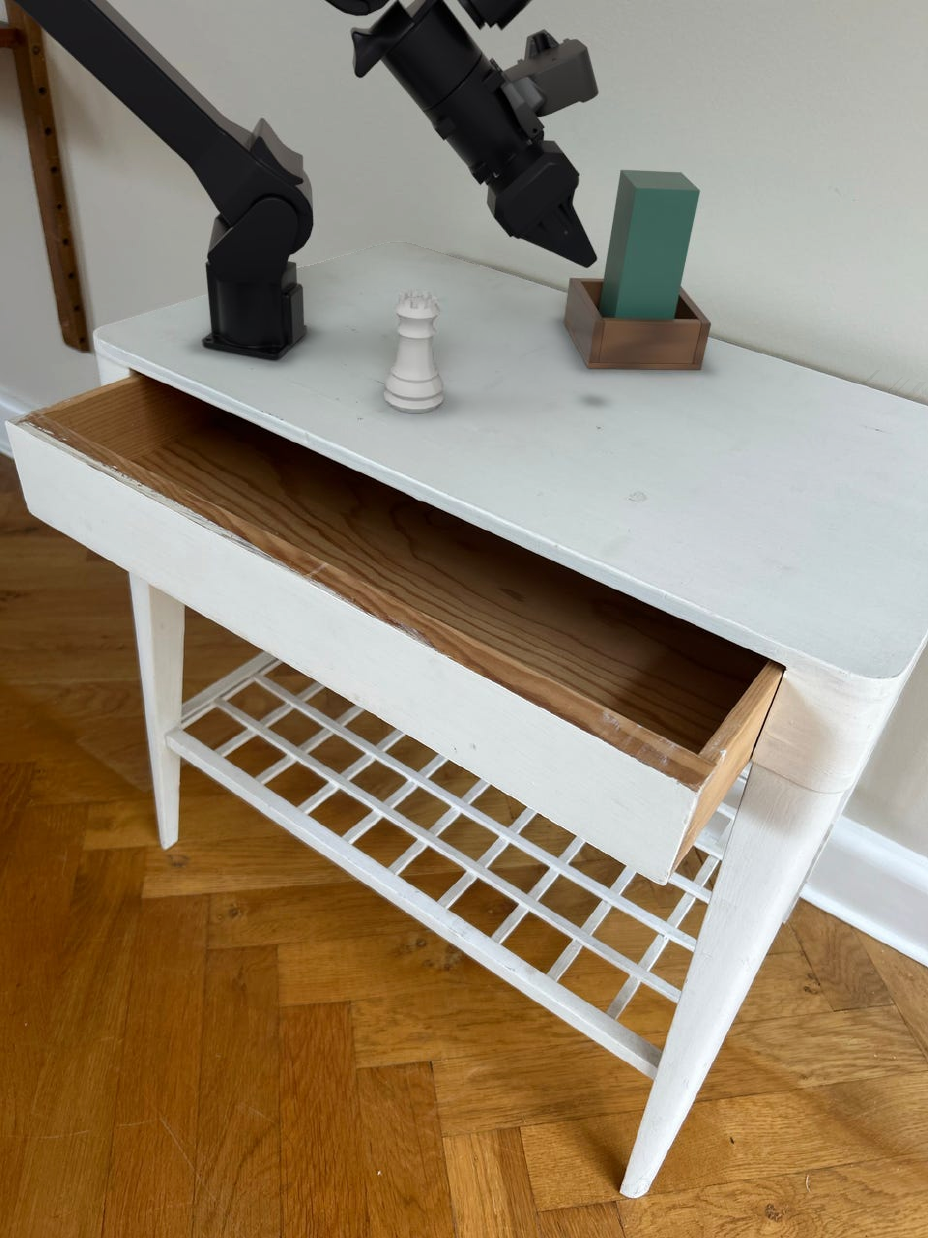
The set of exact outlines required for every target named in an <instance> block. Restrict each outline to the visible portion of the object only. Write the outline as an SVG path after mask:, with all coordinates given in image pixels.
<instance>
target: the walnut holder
mask: <svg viewBox="0 0 928 1238" xmlns="http://www.w3.org/2000/svg"><path fill="white" fill-rule="evenodd" d="M603 280H604V278H596V277H595V278H594V277H592V278H591V277H569V281H568V288H567V294H566V295H567V296H566V303H565V312H564V318H563V324H564V325H565V327H566V329H567V331H568V333H569V336H570V337H571V339H572V341H573V343H574V344H575V347H576V349H577V350H578V353H579V354H580V356H581V358H582V360H583V362H584V364H585V367H586V368H587V369H591V370H592V369H593V370H595V369H596V370H601V369H602V370H685V371H689V370H690V371H691V370H694V371H695V370H696V371H701V370H702V366H703V361H704V357H705V353H706V349H707V343H708V339H709V335H710V332H711V331H710V330H711V326H712V322H711V321H710V320H709V318H707V316H706V315H705V314H704V313H703V311H702V310H701V309H700V308H699V306H698V305H697V304H696V303H695V301H694V300H693V298H691V296H690V295H689V294H688V292H687V291H686V290H685V289H684V288H683V287H682V286H681V287H680V292H679V297H678V301H677V306H676V311H675V316H674V319H639V318H602V316H601V315H600V313H599V306H600V300H601V293H602V287H603Z"/></svg>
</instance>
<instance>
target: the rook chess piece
mask: <svg viewBox="0 0 928 1238" xmlns="http://www.w3.org/2000/svg"><path fill="white" fill-rule="evenodd" d="M418 293H419V291H418V289H410V295H409V291H407V290H403V291H401V292H400V294H399V296H398V297H399V299H398V301H397V302H396V303H395V305H394V306H393V311H394V312H395V314H396V315H397V317H398V318H399V324H398V325H397V327H396V329H395V330H396V332H397V334H398V346H397V352H396V356H395V360H394V363H393V365H392V366H391V368H390V372H389V373H387V376H386V377H385V380H384V385H385V388H386V389H385V390H384V392H383V398H384V400H385V401H386V403H387V404H388V405H389V406H390V407H392V408H393V409H394V410H396V411H399V412H401V413H406V414H407V413H408V414H424V413H429V412H432V411H433V410H435V409H436V408H438V407H439V406H440V404H442V403H443V400H444V395H443V392H442V390H443V388H444V382H443V380H442V377H441V376H440V374H439V370H438V368H437V367H436V365H435V358H434V347H433V342H434V336H435V334H436V333H437V330H436V328H435V327H434V321H435V320H436V319H437V318H438V316H439V315H440V313H441V309H440V307H439V306H438V304H437V303H436V301H437V296H436V294H435V293H434V294H431V291H428V290H423V291H422V295H418Z"/></svg>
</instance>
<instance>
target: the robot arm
mask: <svg viewBox="0 0 928 1238" xmlns="http://www.w3.org/2000/svg"><path fill="white" fill-rule="evenodd" d="M11 1H12V2H13V3H15V4H16V5H17V6H18V7H19V8H20V9H21V10H22V11H23V12H25V14H27V16H29V17H30V18H31V19H32V20H33V21H34V22H35V23H36V24H37V25H38V26H39V27H41V28H42V30H44V31H45V32H46V33H47V34H48V35H49V37H51V38H52V39H53V40H54V41H55V42H56V43H58V45H60V46H61V47H62V48H63V49H64V50H65V51H66V52H67V53H68V54H69V55H71V57H72V58H74V60H76V61H77V62H78V63H79V64H80V66H82V67H83V68H84V69H85V70H86V71H88V72H89V74H91V76H93V77H94V78H95V79H96V80H97V81H98V82H99V83H100V84H101V85H102V86H103V87H105V88H106V89H107V90H108V91H109V92H110V94H112V95H113V96H114V97H115V98H117V99H118V101H120V102H121V104H122V105H124V106H125V107H126V108H127V109H128V110H129V111H130V112H131V113H133V114H134V115H135V116H136V117H137V118H138V119H139V120H140V121H141V122H142V123H143V124H144V125H145V126H146V127H147V128H148V129H150V131H152V132H153V134H155V135H156V136H157V137H158V138H159V139H160V140H161V141H162V142H164V143H165V145H167V147H169V148H170V149H171V150H172V151H173V152H174V153H175V154H176V155H178V157H179V158H180V159H182V160H183V162H185V163H186V164H187V165H188V166H189V167H190V169H191V170H192V172H193V174H194V175H195V176H196V178H197V180H198V181H199V183H200V184H201V186H202V187H203V190H204V191H205V192H206V194H207V195H208V197H209V198H210V200H211V202H212V204H213V205H214V207H215V208H216V211H218V212H219V213H218V214H217V215H216V216H215V217H214V219H213V223H212V224H213V225H212V229H211V234H210V238H209V239H210V240H209V244H208V249H207V254H206V259H207V261H206V262H205V263H204V265H205V266H204V267H205V277H206V287H207V297H208V309H209V321H210V332H209V333H208V334H207V335H206V336H204V337H203V338H202V339H201V343H202V346H203V347H204V348H208V349H212V350H213V349H214V350H220V351H224V352H229V353H236V354H241V355H247V356H252V357H257V358H263V359H269V360H279V359H280V358H281V357H282V356H283V355H284V354H285V353H287V352H288V351H289V350H290V348H291V347H293V346H294V345H295V344H296V343H297V342H298V341H299V340H300V339H301V338H302V337H303V336H305V334H306V333H307V332H308V326H307V325H306V324H305V311H304V310H305V309H304V306H305V305H304V287H303V285H302V283H300V282H299V283H298V270H297V262H295V261H289V258H290V256H291V255H294V254H296V253H298V252H299V251H300V250H301V249H303V248H304V247H305V245H306V244H307V243H308V241H309V239H310V238H311V236H312V232H313V228H314V226H315V225H314V222H315V221H314V201H313V198H314V197H313V187H312V182H311V180H310V178H309V175H308V173H306V171H305V169H304V156H303V154H301V153H299V152H297V151H295V150H292V149H291V148H289V147H288V145H286V144H285V143H284V142H283V141H282V140H281V139H280V138H279V136H278V135H277V133H276V132H275V131H274V129H273V128H272V126H271V125H270V123H269V122H268V121H267V120H266V119H265V118H264V117H260V118H259V119H258V121H257V123H256V125H255V127H254V128H253V130H252V131H250V130H249V129H247V128H245V127H243V126H242V125H239V124H238V123H236V122H234V121H232V120H230V119H229V118H228V117H226V116H225V115H224V114H222V112H220V111H219V109H217V108H216V107H215V106H214V105H213V104H212V103H211V102H210V101H209V100H208V99H207V98H206V97H205V96H204V95H203V94H202V93H201V92H200V91H199V90H198V88H196V87H195V86H194V84H192V83H191V82H190V81H189V80H188V79H187V78H186V77H185V76H184V75H183V74H182V73H181V72H180V71H179V70H178V69H177V68H176V67H175V66H174V65H173V64H172V63H171V62H170V61H169V60H167V58H166V57H165V56H163V54H162V53H161V52H160V51H159V50H157V48H155V47H154V46H153V45H152V43H150V42H149V41H148V40H147V39H146V38H145V37H144V36H143V35H142V33H140V32H139V31H138V30H137V28H135V27H134V26H133V25H132V24H131V22H129V21H128V20H127V19H126V18H125V17H124V16H123V15H122V14H121V13H120V12H119V11H118V10H117V9H116V8H115V7H114V6H113V5H112V4H111V3H110V2H109V1H108V0H11ZM324 1H325V2H326V3H328V4H329V5H331V6H332V7H334V8H335V9H337V10H338V11H340V12H341V13H344V14H346V15H351V16H355V17H366V16H369V15H371V14H374V13H375V12H378V11H379V10H381V9H383V8H384V7H385V6H386V5H387V4H388V3H390V1H391V0H324ZM456 1H457V3H458V4H459V5H460V6H461V7H462V9H463V10H464V12H465V13H466V15H467V16H468V18H470V20H471V21H472V22H473V24H474V25H475V26H476V28H477V29H478V30H479V31H482V30H483V29H484V28H485V27H486V25H487V26H488V27H489V29H492V28H493V27H494V26H496V27H497V28H498V29H499V30H500V31H501V32H502V31H503V30H505V28H506V27H507V26H508V25H509V24H510V23H511V22H512V21H513V20H514V19H515V18H516V17H518V16H519V14H520V13H521V12H522V11H523V10H524V9H525V8H527V7H528V5H529V4H530V3H531V2H532V1H533V0H456ZM349 32H350V37H351V41H352V45H353V53H352V54H353V56H352V62H351V63H352V64H351V65H352V68H353V73H354V75H355V77H356V78H358V79H363V78H364V77H365V76H366V75H368V73H369V72H370V71H371V70H372V69H374V68H375V66H376V65H377V64H378V63H379V62H381V63H382V64H383V65H384V66H385V68H386V70H388V71H389V72H390V74H391V75H392V76H393V77H394V79H395V80H396V81H397V82H398V83H399V85H400V86H401V87H402V88H403V89H404V91H405V93H407V94H408V96H409V97H410V98H411V99H412V101H413V102H414V103H415V104H416V105H417V107H418V108H419V109H420V110H421V112H422V113H423V114H424V115H425V116H426V118H427V119H428V120H429V121H430V123H431V125H432V128H433V130H434V131H435V132H436V133H437V135H438V136H439V137H440V138H441V140H442V141H446V142H447V144H449V146H450V147H451V149H453V151H454V152H455V153H456V154H457V155H458V157H459V158H460V159H461V160H462V162H463V163H464V164H465V165H466V166H467V168H468V170H469V173H470V174H471V176H472V177H473V179H475V181H476V182H477V184H478V185H480V186H482V184H483V183H485V185H486V186H487V195H486V196H487V198H486V204H487V207H488V209H489V211H490V213H491V215H492V217H493V219H494V220H495V221H496V222H497V224H498V225H499V226H500V227H501V228H502V230H503V231H504V232H505V233H506V234H507V236H508V237H509V238H513V237H514V238H515V239H517V240H523V241H525V242H527V243H530V244H532V245H535V246H537V247H539V248H542V249H544V250H546V251H549V252H551V253H553V254H555V255H557V256H560V257H562V258H563V259H565V260H568V261H570V262H572V263H574V264H575V265H579V266H580V267H582V268H584V269H588V268H590V267H592V265H593V264H595V263H596V262H597V261H598V256H597V254H596V251H595V249H594V247H593V245H592V243H591V241H590V238H589V236H588V234H587V232H586V230H585V228H584V225H583V223H582V221H581V219H580V217H579V215H578V213H577V211H576V208H575V205H574V199H575V193H576V190H577V188H578V187H579V184H580V175H581V174H580V173H579V171H578V170H577V168H576V166H575V165H574V164H573V163H572V162H571V160H570V159H569V158H568V156H567V155H566V154H565V152H564V151H563V150H562V149H561V147H560V146H559V145H558V143H557V142H556V141H555V140H546V139H545V130H544V129H545V128H546V126H545V125H544V123H543V122H542V121H541V120H540V118H543V117H544V118H545V117H546V116H547V117H548V116H550V115H552V114H555V113H556V112H559V111H561V110H564V109H566V108H568V107H570V106H572V105H575V104H577V103H579V102H580V103H583V104H584V103H587V102H589V101H591V100H592V99H595V98H596V97H597V96H598V95H599V93H600V91H599V88H598V83H597V79H596V76H595V72H594V68H593V65H592V61H591V55H590V53H589V49H588V47H587V46H586V44H584V43H583V42H582V41H580V40H579V39H578V38H574V39H569V37H567V38H564V39H562V42H561V43H559V42H558V41H557V39H556V38H555V37H554V36H553V35H552V34H551V33H550V32H549V31H547V29H545V28H543V29H541V30H538V31H536V32H535V33H532V34H530V35H528V36H526V41H525V47H524V48H525V49H524V54H523V55H524V57H523V58H520V59H517V61H516V62H517V63H516V64H514V65H512V66H511V67H509V68H507V69H505V70H503V68H501V66H499V64H498V63H497V61H495V59H494V58H493V57H491V58H490V59H489V58H488V57H487V55H485V52H483V50H482V49H481V48H480V46H479V45H478V44H477V42H476V41H475V40H474V38H473V37H472V35H471V34H470V33H469V32H468V30H467V29H466V28H465V26H464V25H463V24H462V23H461V21H460V20H459V19H458V17H457V16H456V14H455V13H454V12H453V11H452V9H451V8H450V7H449V5H448V3H446V1H445V0H413V1H411V3H410V4H409V5H407V7H406V6H405V4H403V3H402V2H401V0H395V1H394V2H393V3H392V4H391V5H390V6H389V7H388V8H387V9H386V10H385V11H384V12H383V13H382V14H381V15H380V16H379V18H378V19H376V20H375V21H374V22H373V23H372V25H371V26H370V27H368V28H362V27H356V26H352V27H351V28H350V30H349Z"/></svg>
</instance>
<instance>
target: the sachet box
mask: <svg viewBox="0 0 928 1238" xmlns="http://www.w3.org/2000/svg"><path fill="white" fill-rule="evenodd" d="M619 171H620V172H619V177H618V184H617V192H616V198H615V203H614V204H615V205H614V211H613V217H612V223H611V230H610V236H609V243H608V248H607V255H606V262H605V269H604V274H603V279H604V280H603V287H602V293H601V300H600V306H599V313H600V315H601V316H602V318H639V319H674V316H675V311H676V306H677V301H678V297H679V292H680V287H682V282H683V276H684V272H685V268H686V267H685V266H686V262H687V257H688V251H689V248H690V247H689V246H690V243H691V237H692V234H693V233H692V232H693V228H694V224H695V223H694V222H695V219H696V213H697V207H698V202H699V198H700V192H701V190H700V188H698V187H697V186H696V185H695V184H694V183H693V182H692V181H691V180H690V179H689V178H688V177H687V176H686V175H685V174H684V173H682V172H681V171H661V170H660V171H659V170H634V169H620V170H619Z"/></svg>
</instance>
